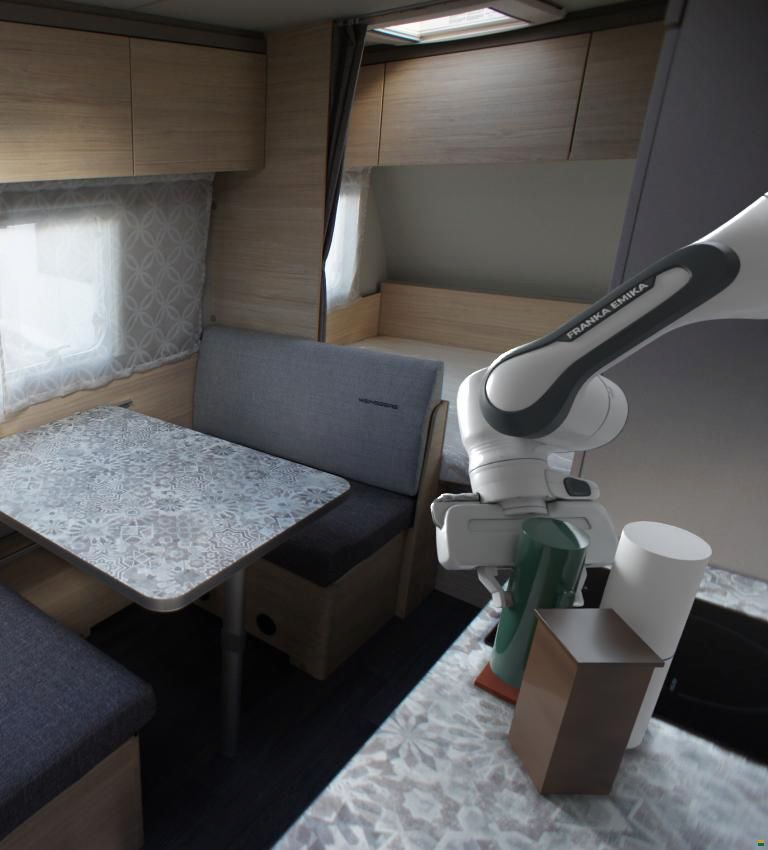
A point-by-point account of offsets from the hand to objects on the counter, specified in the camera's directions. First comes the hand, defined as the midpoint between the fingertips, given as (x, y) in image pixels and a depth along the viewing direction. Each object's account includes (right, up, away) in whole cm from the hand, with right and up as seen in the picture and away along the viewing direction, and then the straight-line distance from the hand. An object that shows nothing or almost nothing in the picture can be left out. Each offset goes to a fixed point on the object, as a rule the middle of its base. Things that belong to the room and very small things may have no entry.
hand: (539, 606), depth 78 cm
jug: (0, -9, +5) cm, 10 cm away
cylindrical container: (+7, -13, -1) cm, 15 cm away
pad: (0, -11, +5) cm, 12 cm away
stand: (-2, -16, -6) cm, 17 cm away
